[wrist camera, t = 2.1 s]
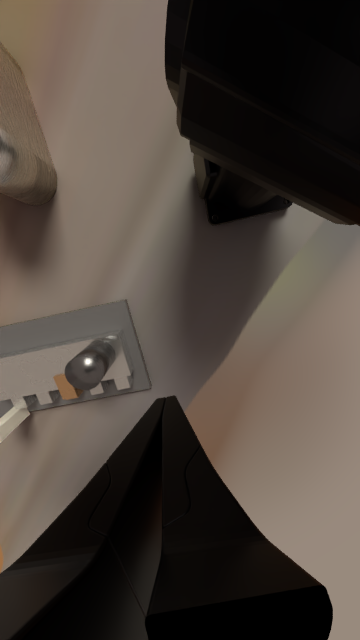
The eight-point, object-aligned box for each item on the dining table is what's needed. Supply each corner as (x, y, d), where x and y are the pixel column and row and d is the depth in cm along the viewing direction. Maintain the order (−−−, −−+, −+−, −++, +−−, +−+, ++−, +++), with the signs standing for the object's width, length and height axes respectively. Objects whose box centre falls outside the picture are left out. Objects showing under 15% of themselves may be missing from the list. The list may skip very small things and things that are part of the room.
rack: (121, 329, 18) (103, 349, 13) (137, 379, 19) (125, 411, 15) (-12, 357, 18) (-69, 385, 14) (12, 403, 20) (-34, 441, 15)
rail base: (126, 299, 18) (111, 308, 14) (152, 387, 20) (145, 416, 16) (-67, 341, 19) (-132, 361, 15) (-20, 420, 21) (-65, 455, 17)
